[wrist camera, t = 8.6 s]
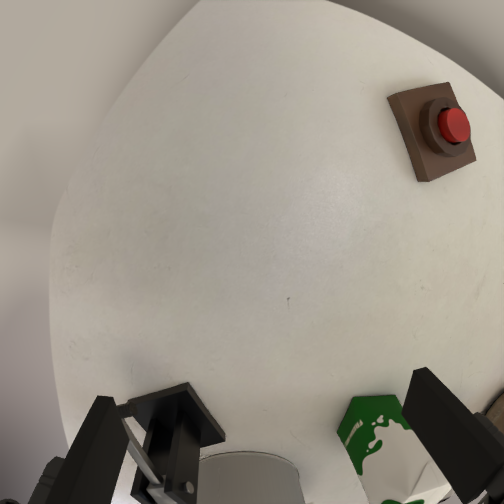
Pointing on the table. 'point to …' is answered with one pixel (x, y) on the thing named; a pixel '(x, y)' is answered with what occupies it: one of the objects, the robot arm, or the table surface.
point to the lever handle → (144, 458)
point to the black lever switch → (174, 441)
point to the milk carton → (389, 454)
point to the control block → (429, 131)
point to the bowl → (497, 413)
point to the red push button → (453, 125)
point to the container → (248, 480)
